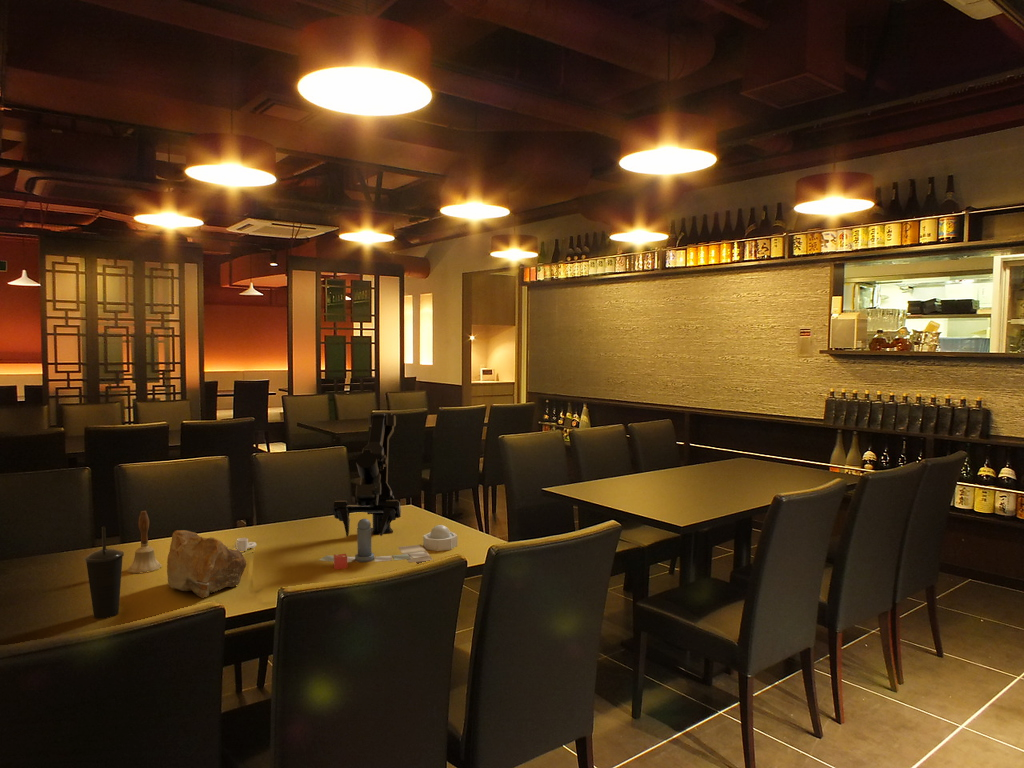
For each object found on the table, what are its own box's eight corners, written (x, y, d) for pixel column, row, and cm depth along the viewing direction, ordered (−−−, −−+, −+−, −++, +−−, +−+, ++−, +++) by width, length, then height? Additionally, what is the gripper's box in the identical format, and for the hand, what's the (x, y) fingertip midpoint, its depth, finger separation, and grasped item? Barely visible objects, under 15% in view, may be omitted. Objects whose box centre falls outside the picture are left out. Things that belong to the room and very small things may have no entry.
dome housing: (421, 543, 214) (421, 533, 214) (451, 540, 217) (451, 530, 217) (428, 551, 205) (428, 541, 205) (459, 548, 208) (459, 538, 208)
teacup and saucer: (252, 546, 212) (252, 533, 212) (264, 552, 207) (263, 538, 207) (223, 552, 206) (223, 538, 206) (234, 558, 201) (234, 544, 200)
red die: (333, 566, 188) (333, 554, 188) (345, 565, 189) (345, 553, 189) (335, 569, 185) (334, 557, 185) (347, 568, 186) (347, 556, 186)
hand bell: (168, 565, 193) (167, 508, 192) (144, 575, 185) (142, 515, 184) (145, 562, 195) (143, 506, 195) (120, 571, 188) (118, 513, 187)
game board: (316, 558, 199) (316, 554, 199) (420, 547, 209) (420, 543, 209) (321, 575, 184) (321, 571, 184) (433, 563, 194) (433, 559, 194)
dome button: (426, 542, 213) (425, 523, 213) (448, 540, 216) (448, 521, 215) (431, 549, 206) (431, 529, 206) (455, 546, 209) (454, 527, 209)
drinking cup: (113, 621, 153) (110, 531, 152) (78, 621, 153) (75, 531, 152) (132, 608, 161) (130, 522, 160) (100, 608, 161) (97, 522, 160)
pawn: (352, 558, 194) (351, 518, 194) (369, 555, 198) (368, 515, 197) (360, 563, 190) (359, 522, 190) (377, 559, 193) (376, 519, 193)
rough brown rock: (261, 595, 171) (264, 535, 172) (190, 607, 160) (194, 542, 161) (226, 576, 188) (228, 521, 189) (160, 585, 177) (163, 526, 178)
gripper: (332, 472, 197) (324, 521, 186) (399, 471, 198) (395, 520, 187) (338, 494, 205) (331, 541, 195) (402, 493, 206) (398, 540, 195)
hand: (363, 535), depth 193 cm, fingers open, 9 cm apart
